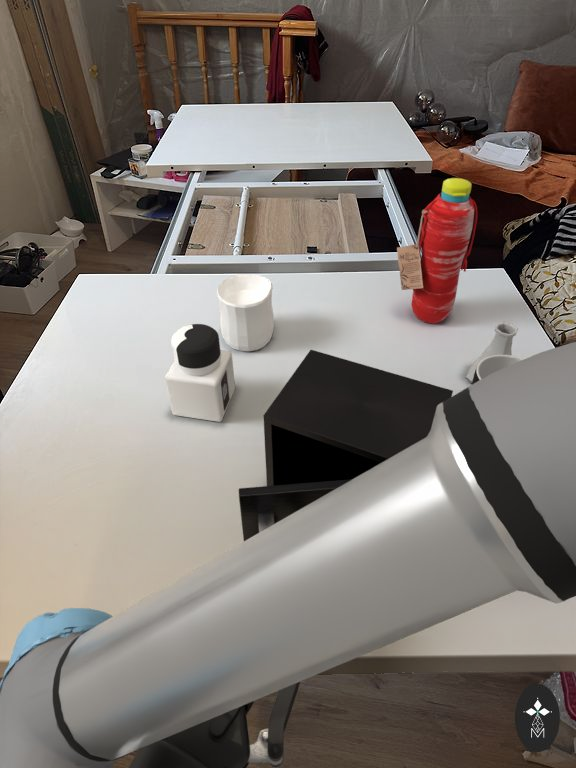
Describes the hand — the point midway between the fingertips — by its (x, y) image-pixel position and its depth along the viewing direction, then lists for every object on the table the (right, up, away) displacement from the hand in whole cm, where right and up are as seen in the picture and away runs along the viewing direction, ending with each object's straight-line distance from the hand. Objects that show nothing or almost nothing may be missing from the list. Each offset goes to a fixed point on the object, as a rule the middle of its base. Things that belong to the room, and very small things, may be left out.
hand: (293, 553), depth 54 cm
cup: (-7, +26, +40) cm, 48 cm away
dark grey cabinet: (+8, +4, +16) cm, 18 cm away
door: (+4, -5, +5) cm, 8 cm away
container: (-13, +14, +28) cm, 34 cm away
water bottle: (+24, +30, +45) cm, 59 cm away
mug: (+28, +10, +22) cm, 37 cm away
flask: (+32, +18, +31) cm, 48 cm away
